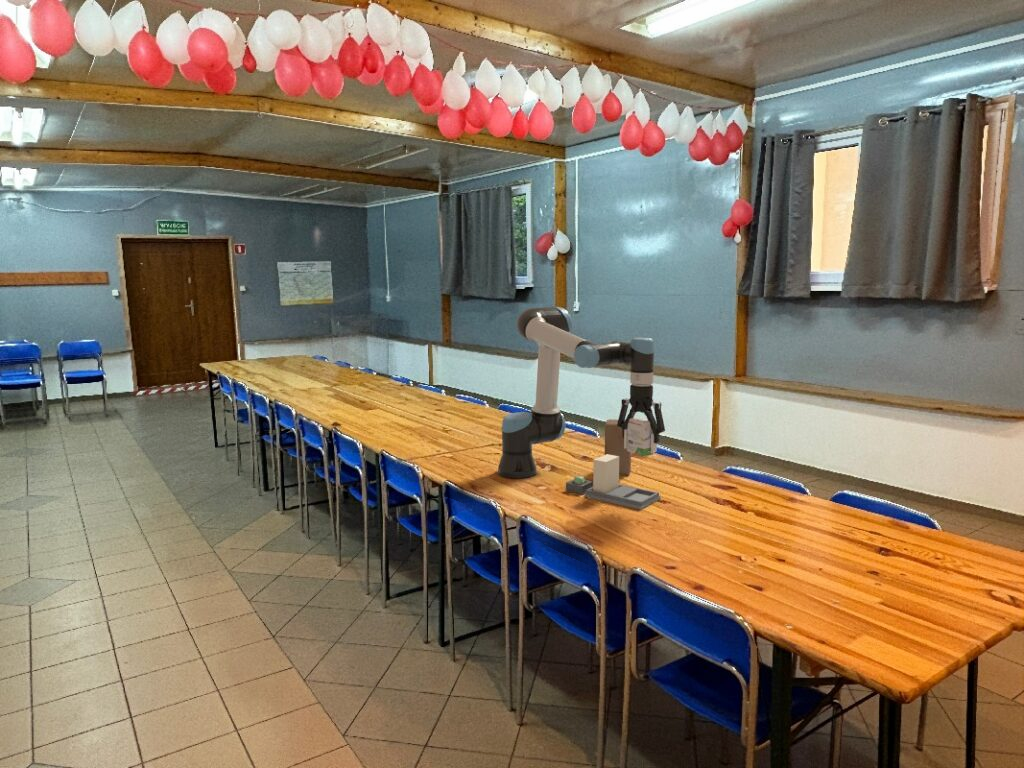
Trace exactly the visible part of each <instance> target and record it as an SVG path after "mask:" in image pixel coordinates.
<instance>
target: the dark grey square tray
mask: <svg viewBox="0 0 1024 768" xmlns="http://www.w3.org/2000/svg"><path fill="white" fill-rule="evenodd" d="M591 487H593V481H591V480H589V479H584V484H582V485H580V484H575V483H574V479H571V480H569V481H567V482H565V492H570V493H575V494H579V495H585V493H586V490H587V489H589V488H591Z"/></svg>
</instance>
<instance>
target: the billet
mask: <svg viewBox="0 0 1024 768" xmlns="http://www.w3.org/2000/svg"><path fill="white" fill-rule="evenodd" d="M592 482H593V491H598V492H602V493H609V492H611V491H613V490H615V489H617V488H619V484H620V474H619V456H614V455H609V454H606V455H605V454H604V455H601V456H599V457H597V458H594V459H593V481H592Z"/></svg>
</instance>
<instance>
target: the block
mask: <svg viewBox="0 0 1024 768" xmlns="http://www.w3.org/2000/svg"><path fill="white" fill-rule="evenodd" d="M624 422H625V421H624ZM617 423H618V419H613V418H612V419H607V420H606V422H605V425H604V455H606V454H609V455H614V456H619V475H621V476H622V475H623V476H625V475H626V476H629V475H630V474H631V469H632V452H628V451H627V449H625V448H624V438H623V437H622V428H621V427H618V426H617Z"/></svg>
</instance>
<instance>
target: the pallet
mask: <svg viewBox="0 0 1024 768" xmlns="http://www.w3.org/2000/svg"><path fill="white" fill-rule="evenodd" d="M584 497H585V498H588V499H593V500H597V501H601V502H606V503H610V504H614V505H617V506H622V507H627V508H631V509H636V510H639V511H640V510H643V509H646V508H647V507H648V506H651V505H652V504H654V503H655V502H657V501H660V500H661V495H660V492H658V491H652V490H648V489H644V488H640V487H634V486H630V485H626V484H625V485H624V484H620V483H619V488H617V489H615V490H613V491H611V492H609V493H602V492H598V491H593V487H591V488H589V489H587V490H586V493H584Z"/></svg>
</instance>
